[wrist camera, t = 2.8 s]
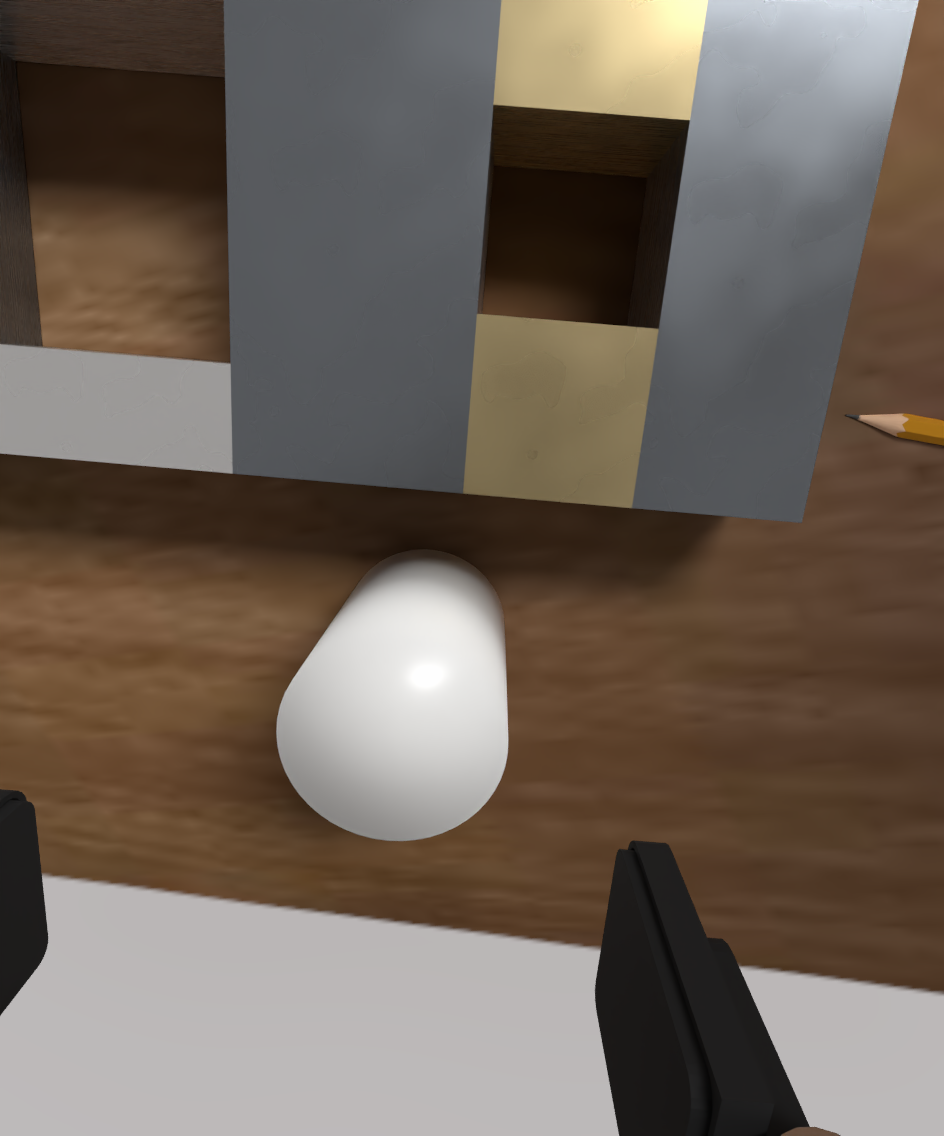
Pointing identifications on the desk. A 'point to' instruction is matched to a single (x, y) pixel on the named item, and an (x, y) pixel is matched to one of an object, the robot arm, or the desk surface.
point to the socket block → (485, 243)
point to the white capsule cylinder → (402, 702)
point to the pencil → (907, 426)
